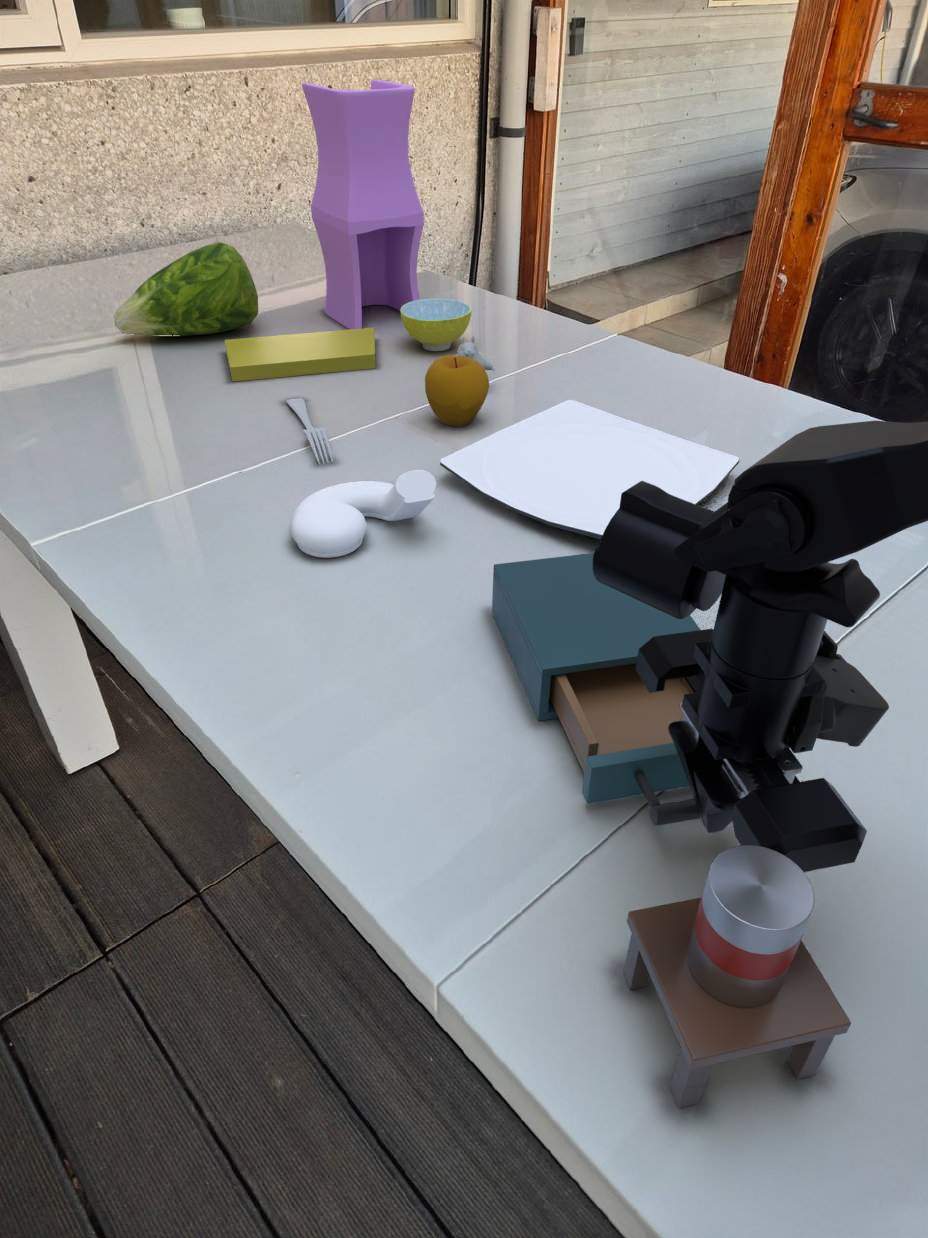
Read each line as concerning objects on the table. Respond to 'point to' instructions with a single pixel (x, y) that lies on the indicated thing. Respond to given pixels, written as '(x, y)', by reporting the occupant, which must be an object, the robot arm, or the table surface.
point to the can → (749, 925)
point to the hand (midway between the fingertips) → (712, 828)
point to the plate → (584, 466)
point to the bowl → (436, 321)
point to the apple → (456, 389)
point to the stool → (719, 1028)
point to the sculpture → (357, 511)
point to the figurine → (473, 353)
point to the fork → (311, 429)
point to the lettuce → (193, 296)
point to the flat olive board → (301, 354)
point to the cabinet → (569, 622)
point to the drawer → (624, 737)
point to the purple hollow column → (365, 198)
